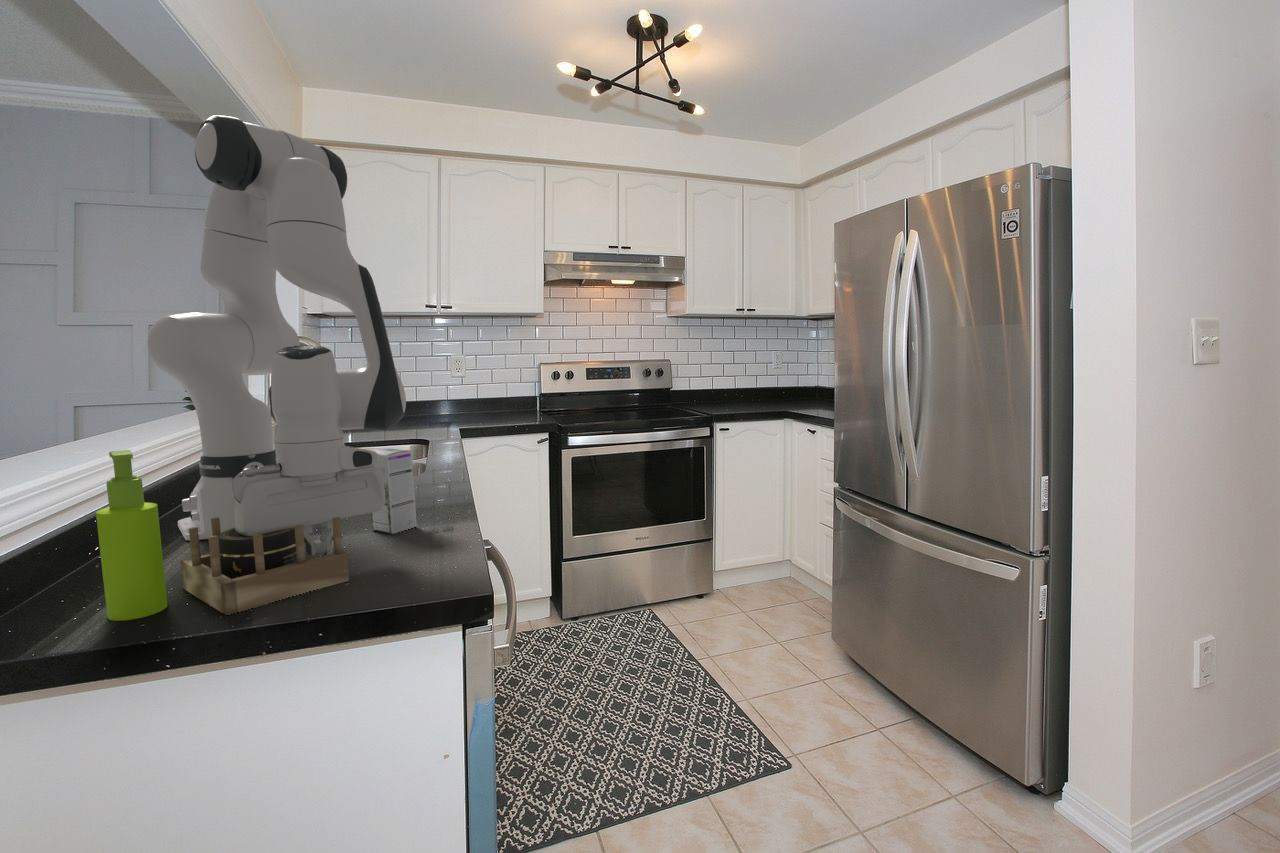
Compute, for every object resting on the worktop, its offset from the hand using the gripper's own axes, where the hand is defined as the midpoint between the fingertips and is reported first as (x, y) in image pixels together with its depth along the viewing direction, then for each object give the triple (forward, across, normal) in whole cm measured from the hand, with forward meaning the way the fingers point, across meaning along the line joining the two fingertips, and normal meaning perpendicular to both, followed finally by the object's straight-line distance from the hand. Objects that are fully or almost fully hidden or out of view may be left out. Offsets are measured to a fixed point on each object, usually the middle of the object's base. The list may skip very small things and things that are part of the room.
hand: (318, 553), depth 94 cm
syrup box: (+3, +19, +12) cm, 23 cm away
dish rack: (+3, -6, 0) cm, 7 cm away
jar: (+3, -7, +1) cm, 8 cm away
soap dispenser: (+3, -21, +4) cm, 21 cm away
